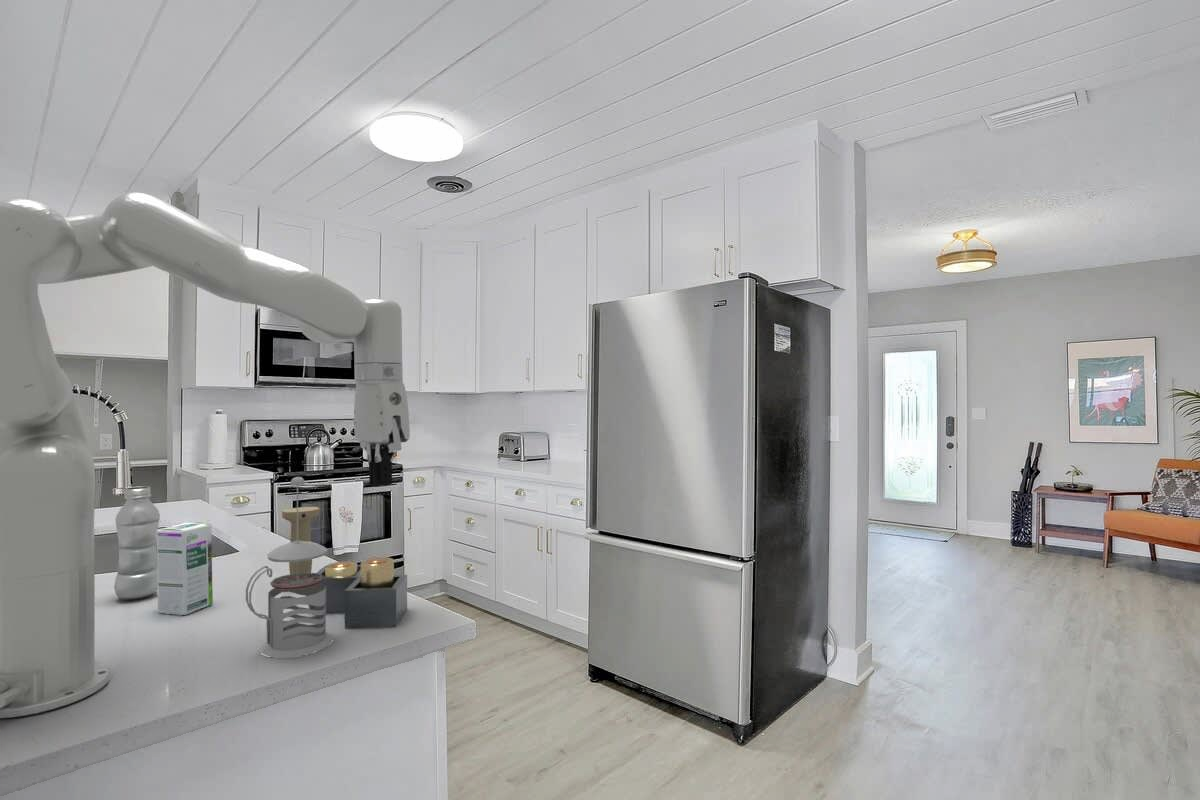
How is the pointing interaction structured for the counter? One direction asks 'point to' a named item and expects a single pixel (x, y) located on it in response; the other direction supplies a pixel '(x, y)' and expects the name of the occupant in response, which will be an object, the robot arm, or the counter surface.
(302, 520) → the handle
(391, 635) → the counter surface
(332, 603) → the socket far
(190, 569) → the syrup box
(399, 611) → the socket near
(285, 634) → the french press
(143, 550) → the plastic bottle
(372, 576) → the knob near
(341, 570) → the cream candle
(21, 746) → the counter surface
